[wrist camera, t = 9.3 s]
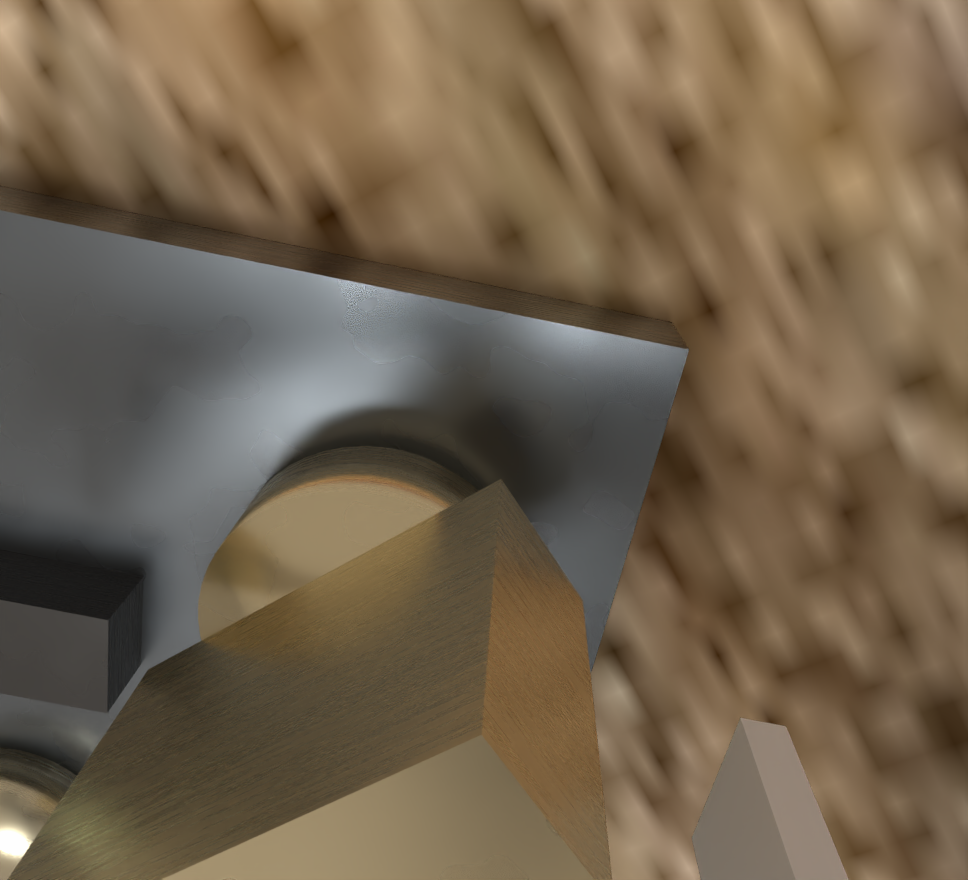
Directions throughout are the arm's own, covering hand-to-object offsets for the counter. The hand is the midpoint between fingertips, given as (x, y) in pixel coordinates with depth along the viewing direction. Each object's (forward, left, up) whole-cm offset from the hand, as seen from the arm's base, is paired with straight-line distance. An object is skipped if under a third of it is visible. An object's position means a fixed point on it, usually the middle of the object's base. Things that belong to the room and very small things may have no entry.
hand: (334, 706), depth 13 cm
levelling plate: (+8, +3, -6) cm, 11 cm away
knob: (0, 0, -4) cm, 4 cm away
